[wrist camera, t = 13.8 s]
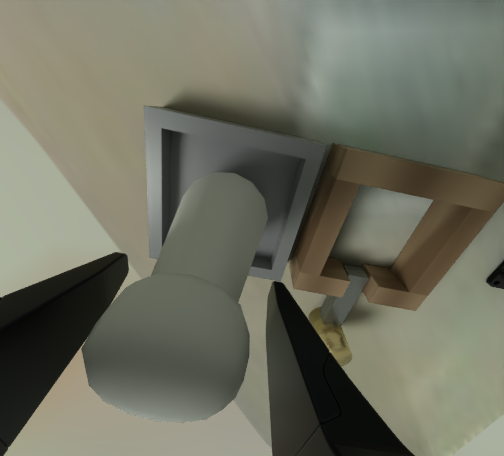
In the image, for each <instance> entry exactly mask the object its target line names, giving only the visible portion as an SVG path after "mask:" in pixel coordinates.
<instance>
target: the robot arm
mask: <svg viewBox="0 0 504 456" xmlns="http://www.w3.org/2000/svg"><path fill="white" fill-rule="evenodd" d="M128 271H129V268H128V257H127V255H126V254H124V253H118V252H115V253H112V254H110V255H107V256H105V257H102V258H99V259H97V260H94V261H92V262H89V263H87V264H84V265H82V266H79V267H76V268H74V269H71V270H69V271H66V272H64V273H61V274H59V275H56V276H54V277H51V278H48V279H46V280H43V281H41V282H39V283H36V284H33V285H31V286H28V287H25V288H23V289H20V290H18V291H15V292H13V293H10V294H8V295H5V296H4V297H3V298H2V297H0V456H3V455H4V454H5V452H6V451H7V450H8V447H9V446H10V445H11V444H12V442H13V441H14V440H15V438H16V437H17V435H18V434H19V433H20V431H21V430H22V429H23V427H24V426H25V424H26V423H27V421H28V420H29V419H30V417H31V416H32V414H33V413H34V412H35V410H36V409H37V407H38V406H39V405H40V403H41V402H42V400H43V399H44V398H45V396H46V395H47V393H48V392H49V391H50V389H51V388H52V386H53V385H54V384H55V382H56V381H57V379H58V378H59V377H60V375H61V374H62V372H63V371H64V369H65V368H66V367H67V365H68V364H69V363H70V361H71V360H72V358H73V357H74V356H75V354H76V353H77V351H78V350H79V349H80V347H81V346H82V344H83V343H84V342H85V340H86V339H87V337H88V336H89V335H90V333H91V331H92V329H93V327H94V326H95V324H96V323H97V321H98V320H99V319H100V317H101V316H102V315H103V314H104V312H105V311H106V310H107V309H108V307H109V306H110V304H111V303H112V301H113V299H114V297H115V295H116V294H117V292H118V290H119V289H120V287H121V285H122V283H123V282H124V280H125V278H126V276H127V274H128ZM486 282H487V283H488V284H489V285H490V286H492V287H496V288H501V289H504V262H503V263H502V264H501V265H500V266H499V267H498V268H497V269H496V271H495V272H494V273H493V274H492V275H491V276H490V277H489V278H488V279H487V281H486ZM266 349H267V367H268V385H269V402H270V420H271V438H272V454H273V456H415V455H414V454H413V453H411V452H410V451H409V450H408V449H407V448H406V447H405V446H404V445H403V443H402V442H401V441H400V440H399V439H398V438H397V437H396V435H395V434H394V433H393V432H392V431H391V429H390V428H389V427H388V426H387V424H386V423H385V422H384V421H383V420H382V418H381V417H380V416H379V415H378V413H377V412H376V411H375V410H374V408H373V407H372V406H371V405H370V403H369V402H368V401H367V400H366V399H365V397H364V396H363V395H362V394H361V392H360V391H359V390H358V389H357V387H356V386H355V385H354V383H353V382H352V381H351V380H350V378H349V377H348V376H347V374H346V373H345V372H344V370H343V369H342V367H341V366H340V365H339V363H338V362H337V360H336V359H335V358H334V356H333V355H332V353H331V352H330V351H329V349H328V348H327V346H326V345H325V343H324V342H323V340H322V339H321V337H320V336H319V334H318V333H317V332H316V330H315V329H314V327H313V326H312V324H311V323H310V321H309V320H308V319H307V317H306V316H305V314H304V313H303V311H302V310H301V308H300V307H299V305H298V304H297V303H296V301H295V300H294V298H293V297H292V295H291V294H290V292H289V291H288V290H287V288H286V287H285V285H284V284H283V283H282V282H277V281H274V282H273V283H272V286H271V289H270V292H269V295H268V303H267V320H266Z"/></svg>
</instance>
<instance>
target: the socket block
mask: <svg viewBox="0 0 504 456" xmlns="http://www.w3.org/2000/svg"><path fill="white" fill-rule="evenodd" d="M361 184H362V185H367V186H372V187H376V188H381V189H386V190H391V191H395V192H400V193H405V194H409V195H414V196H419V197H424V198H428V199H433V200H434V201H433V202H432V204H431V206H430V207H429V209H428V210H427V212H426V213H425V215H424V217H423V218H422V220H421V221H420V223H419V224H418V226H417V227H416V229H415V231H414V232H413V234H412V235H411V237H410V238H409V240H408V242H407V243H406V245H405V246H404V248H403V249H402V251H401V252H400V254H399V256H398V257H397V259H396V260H395V262H394V263H393V265H392V267H391V268H390V269H388V268H382V267H377V266H372V265H367V264H363V266H362V269H363V270H364V272H365V273H366V275H367V276H368V278H369V280H368V281H367V283H366V285H365V286H364V288H363V290H362V291H363V293H364V294H365V296H366V298H367V300H368V301H369V303H375V304H381V305H386V306H392V307H397V308H403V309H408V310H414V311H416V310H417V308H418V307H419V306H420V305H421V304H422V302H423V301H424V300H425V299H426V297H427V296H428V295H429V294H430V292H431V291H432V290H433V289H434V287H435V286H436V285H437V284H438V282H439V281H440V280H441V279H442V278H443V276H444V275H445V274H446V273H447V271H448V270H449V269H450V268H451V266H452V265H453V264H454V263H455V261H456V260H457V259H458V258H459V256H460V255H461V254H462V253H463V252H464V250H465V249H466V248H467V247H468V245H469V244H470V243H471V242H472V240H473V239H474V238H475V237H476V235H477V234H478V233H479V232H480V231H481V229H482V228H483V227H484V226H485V224H486V223H487V222H488V221H489V219H490V218H491V217H492V216H493V214H494V213H495V212H496V211H497V209H498V208H499V207H500V206H501V205H502V203H503V202H504V183H503V182H499V181H496V180H492V179H489V178H485V177H482V176H478V175H474V174H470V173H466V172H461V171H457V170H452V169H448V168H443V167H439V166H434V165H430V164H425V163H421V162H416V161H412V160H407V159H402V158H398V157H393V156H389V155H384V154H380V153H375V152H371V151H366V150H362V149H357V148H353V147H348V146H344V145H339V144H335V143H333V145H332V147H331V150H330V153H329V156H328V159H327V162H326V164H325V167H324V170H323V173H322V176H321V179H320V181H319V184H318V187H317V190H316V193H315V195H314V198H313V201H312V204H311V207H310V210H309V212H308V215H307V218H306V221H305V224H304V227H303V229H302V232H301V235H300V238H299V241H298V244H297V246H296V249H295V252H294V255H293V258H292V260H291V263H290V272H291V277H292V283H293V288H294V289H297V290H303V291H308V292H314V293H320V294H325V295H331V296H336V297H343V295H344V293H345V291H346V289H347V288H348V286H349V284H350V282H351V281H350V279H349V277H348V275H347V274H346V272H345V270H344V268H343V266H342V264H341V262H340V260H339V259H335V258H330V257H328V256H329V254H330V251H331V249H332V247H333V245H334V243H335V240H336V238H337V236H338V234H339V231H340V229H341V227H342V225H343V223H344V220H345V218H346V216H347V214H348V211H349V209H350V207H351V205H352V203H353V200H354V198H355V196H356V194H357V191H358V189H359V187H360V185H361Z"/></svg>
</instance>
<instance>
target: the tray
mask: <svg viewBox="0 0 504 456" xmlns="http://www.w3.org/2000/svg"><path fill="white" fill-rule="evenodd" d="M144 120H145V147H146V174H147V201H148V229H149V256H150V258H154V259H158V257H159V255H160V252H161V250H162V247H163V245H164V242H165V240H166V237H167V235H168V232H169V230H170V227H171V225H172V222H173V220H174V217H175V215H176V212H177V210H178V207H179V205H180V202H181V200H182V197H183V195H184V194H185V193H186V191H187V190H188V189H189V188H190V186H191V185H192V184H193V182H194V181H196V180H198V179H200V178H202V177H204V176H207V175H209V174H211V173H213V172H226V173H236V174H238V175H240V176H241V177H243V178H245V179H247V180H249V181H251V182H252V183H253V184H254V185H255V187H256V188H257V189H258V191H259V192H260V193H261V195H262V196H263V197H264V199H265V204H266V210H267V215H268V220H267V223H266V226H265V229H264V232H263V234H262V237H261V239H260V242H259V245H258V248H257V251H256V253H255V256H254V259H253V262H252V265H251V267H250V270H249V273H248V276H253V277H259V278H264V279H270V280H275V281H281V279H282V276H283V273H284V270H285V267H286V264H287V261H288V258H289V255H290V252H291V249H292V247H293V244H294V241H295V238H296V235H297V232H298V229H299V226H300V223H301V220H302V217H303V214H304V212H305V209H306V206H307V203H308V200H309V197H310V194H311V191H312V188H313V185H314V182H315V180H316V177H317V174H318V171H319V168H320V165H321V162H322V159H323V156H324V153H325V150H326V148H327V146H326V145H324V144H322V143H320V142H318V141H314V140H309V139H305V138H300V137H296V136H291V135H287V134H282V133H278V132H273V131H269V130H264V129H260V128H255V127H251V126H246V125H242V124H237V123H233V122H228V121H223V120H219V119H214V118H210V117H205V116H201V115H196V114H192V113H187V112H183V111H178V110H174V109H169V108H165V107H157V106H144Z"/></svg>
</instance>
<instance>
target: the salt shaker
mask: <svg viewBox="0 0 504 456" xmlns="http://www.w3.org/2000/svg"><path fill="white" fill-rule="evenodd" d="M267 220H268V215H267V210H266V204H265V199H264V197H263V196H262V195H261V193H260V192H259V191H258V189H257V188H256V187H255V185H254V184H253V183H252V182H251V181H249V180H247V179H245V178H243V177H241V176H240V175H238V174H236V173H226V172H213V173H211V174H209V175H207V176H204V177H202V178H200V179H198V180H196V181H194V182H193V184H192V185H191V186H190V188H189V189H188V190H187V191H186V193H185V194H184V195H183V197H182V200H181V202H180V205H179V207H178V210H177V212H176V215H175V217H174V220H173V222H172V225H171V227H170V230H169V232H168V235H167V237H166V240H165V242H164V245H163V247H162V250H161V252H160V255H159V257H158V260H157V262H156V265H155V267H154V269H153V272H152V274H151V276H150V277H147V278H144V279H142V280H139V281H137V282H135V283H133V284H131V285H130V286H128V287H126V288H125V289H124V290H123V292H122V293H121V294H120V295H119V296H118V297H117V298H116V299H115V300H114V301H113V303H112V304H111V305H110V306H109V307H108V309H107V310H106V311H105V312H104V314H103V315H102V316H101V317H100V319H99V320H98V321H97V323H96V324H95V326H94V327H93V329H92V331H91V333H90V335H89V336H88V338H87V340H86V342H85V344H84V345H83V347H82V353H83V359H84V364H85V368H86V373H87V378H88V383H89V386H90V387H91V388H92V389H93V390H94V391H95V392H96V393H97V394H98V395H99V396H100V397H101V398H102V399H103V401H105V402H107V403H108V404H110V405H112V406H114V407H116V408H118V409H120V410H122V411H124V412H126V413H128V414H131V415H134V416H138V417H142V418H145V419H149V420H153V421H160V422H176V423H185V422H192V421H198V420H204V419H207V418H209V417H210V416H212V415H214V414H216V413H218V412H219V411H221V410H222V409H224V408H225V407H226V406H227V405H228V404H229V403H230V402H231V401H232V400H233V399H234V398H235V397H236V395H237V393H238V391H239V389H240V387H241V384H242V382H243V380H244V376H245V372H246V367H247V363H248V359H249V331H248V328H247V324H246V321H245V318H244V315H243V312H242V309H241V306H240V304H239V303H238V301H239V298H240V295H241V292H242V290H243V287H244V284H245V281H246V279H247V276H248V273H249V270H250V267H251V265H252V262H253V259H254V256H255V253H256V251H257V248H258V245H259V242H260V239H261V237H262V234H263V232H264V229H265V226H266V223H267Z"/></svg>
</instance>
